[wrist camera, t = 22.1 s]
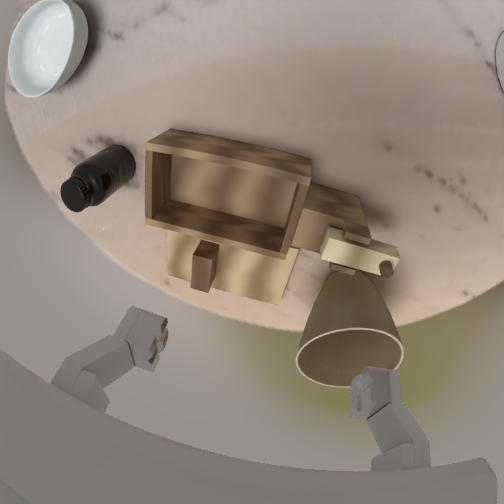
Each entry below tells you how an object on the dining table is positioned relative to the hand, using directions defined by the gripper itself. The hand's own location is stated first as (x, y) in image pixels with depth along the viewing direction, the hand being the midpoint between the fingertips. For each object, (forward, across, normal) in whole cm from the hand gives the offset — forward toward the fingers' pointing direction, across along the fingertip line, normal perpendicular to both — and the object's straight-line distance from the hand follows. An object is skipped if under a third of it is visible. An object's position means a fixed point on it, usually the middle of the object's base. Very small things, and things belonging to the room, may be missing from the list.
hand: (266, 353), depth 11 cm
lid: (+31, +6, +21) cm, 38 cm away
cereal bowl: (+32, +40, -12) cm, 52 cm away
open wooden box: (+31, +4, +8) cm, 32 cm away
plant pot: (+31, -14, +21) cm, 40 cm away
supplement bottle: (+31, +27, +9) cm, 42 cm away
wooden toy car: (+23, -10, +8) cm, 26 cm away
